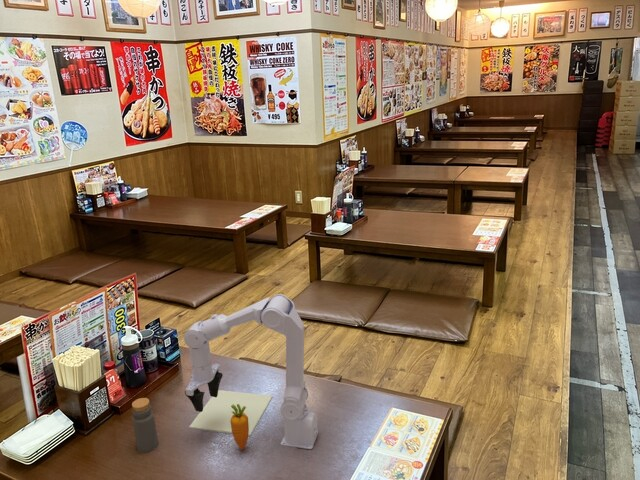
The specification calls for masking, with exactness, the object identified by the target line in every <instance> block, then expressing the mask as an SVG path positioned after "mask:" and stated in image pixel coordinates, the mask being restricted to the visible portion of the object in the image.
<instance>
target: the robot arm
mask: <svg viewBox="0 0 640 480" xmlns="http://www.w3.org/2000/svg"><path fill="white" fill-rule="evenodd" d="M252 321H254V322H256V323H257V324H258V325H261V326H262V325H264V326H265V327H266V328H268V329H270V330H272V331H275V332H277V333H278V334H281V335H283V336H284V337H285V389H284V394H283V401H282V404H281V406H280V409H279V411H280V414H281V415H282V417H283V427H284V429H283V430H284V435H283V437H282V439H281V442H280V445H281V446H285V447H294V448H297V449H298V448H300V449H306V450H313V448H314V446H315V443H316V441H317V437H318V436H319V435H318V434H319V432H320V431H319V429H318V428H319V427H318V426H319V425H318V415H317V413H316V412H313V411H310V410H309V409H308V407H307V404H306V402H307V400H308V399H309V398H308V397H309V391H308V389H307V387H306V381H305V380H304V376H305V374H304V373H305V372H304V371H305V370H304V367H305V366H304V365H305V362H304V361H305V325H304V323H303V320H302V319H301V317H300V315H299V314H298V312H297V310H296V306H295V302H293V300H291V298H289V297H288V296H286V295H285V294H280V293H279V294H275V295H272V297H265V298H264V299H261V300H259V301H258V302H255V303H253V304H251V305H249V306H247V307H243V308H242V309H240V310H237V311H235V312H234V313H231V314H229V315H227V314H223V313H221V314H217V313H215V314H212V316H211V317H210V318H209V319H208V318H207V319H205V320H204V321H203V320H199V321H196V322H194V323H193V324H192V325H191V326H190V328H188V329H187V331H186V332H185V333H184V336H183V341H184V343H185V345H186V346H187V347H188V351H189V360H190V365H191V371H192V374H190V378H191V379H190V381H189V384H188V385H187V387H186V388H185V389H184V390H185V391H184V395H185V396H186V397H187V398H188V400H189V401H190V402H191V403H192V405H193V407H194V410H195V411H196V412H199V413H200V412H202V411H203V408H204V402H203V401H204V397H205V396H204V395H205V391H200V388H201V387H203V386H205V385H207V386H208V392H209V395H210V397H217V396H218V390H220V385H221V384H220V383H221V381H222V378H223V376H224V375H223V373H222V372H220V371H221V364H219V363H213V362H212V357H211V350H210V349H211V348H210V341H212V340H215V339H218V338H220V337H222V336H225V335H227V334H229V333H231V329H232V328H234V327H237V326H240V325H243V324H246V323H249V322H252Z"/></svg>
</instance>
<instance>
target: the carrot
mask: <svg viewBox="0 0 640 480" xmlns="http://www.w3.org/2000/svg"><path fill="white" fill-rule="evenodd" d="M231 407H232V408H233V409H234V411H235V412H236V413H235V412H234V411H232V412H231V413H233V414H234V415H233V416H232V418H231V420H230V423H231V429H232V436H233V440H234V442H235V444H236V445H237V446H238V448H239V449H240V450H241V451H243V450H245V449H246V448H245V447H246V445H247V443H248V439H249V436H248V434H249V423H248V417H247V415H246V414H245V413H243V412H244V410H245V408H246V406H243V408H242V410H241V407H240V405H239V404H237V407H238V409H237V408H236V406H235V405H234V404H232V405H231ZM238 410H239V411H238Z"/></svg>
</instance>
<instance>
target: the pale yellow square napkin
mask: <svg viewBox="0 0 640 480" xmlns="http://www.w3.org/2000/svg"><path fill="white" fill-rule="evenodd" d="M272 399H273V395H269V394H261V393H260V394H259V393H250V392H249V393H248V392H242V391H241V392H239V391H233V390H232V391H229V390H223V389H222V390H220V389H218V396H217V397H212V396H210V399H209V400H208V401H207V403H206V404H205V405H204V406H203V411H202V412H199V413H198V414H197V416H196V417H195V418H194V420H193V421H192V422H191V424H190V425H189V426H188V427H189V428H190V429H197V430H202V431H209V432H210V431H211V432H217V433H225V434H232V429H231V423H230V420H231V418H232V416H233V415H234V414H233V413H231V412H232V411H234V409H233V408H232V407H231V405H232V404H234V405H235V406H236V408H237V409H238V407H237V404H239V405H240V407H241V410H242V408H243V406H246V408H245V410H244V412H243V413H245V414H246V415H247V417H248V423H249V434H248V437H251V436H252V434H253V433H254V431H255V429H256V427H257V425H258V423H259V422H260V420H261V419H262V417H263V415H264V413H265V411H266V410H267V408H268V406H269V404H270V402H271V401H272ZM238 411H239V410H238ZM234 412H235V411H234ZM235 413H236V412H235ZM232 435H233V434H232Z"/></svg>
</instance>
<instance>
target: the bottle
mask: <svg viewBox="0 0 640 480" xmlns="http://www.w3.org/2000/svg"><path fill="white" fill-rule="evenodd" d="M131 406H132V409H131V412H132V418H131V419H132V424H133V429H134V437H135V441H136V443H135V444H136V447H137V450H138V451H139V452H140V453H149V452H152V451H154V450H155V449H157V448H158V446H159V438H158V432H157V426H156V420H155V415H154V412H153V410H152V405H151V404H150V400H149V398H147V397H142V398H141V397H140V398H137V399H135V400H134V401H132V403H131Z"/></svg>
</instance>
